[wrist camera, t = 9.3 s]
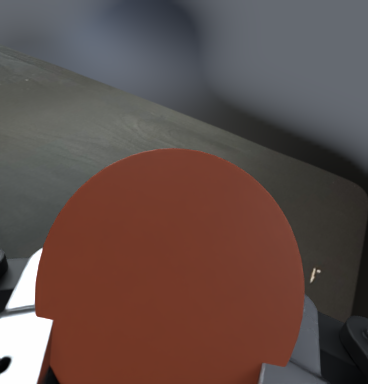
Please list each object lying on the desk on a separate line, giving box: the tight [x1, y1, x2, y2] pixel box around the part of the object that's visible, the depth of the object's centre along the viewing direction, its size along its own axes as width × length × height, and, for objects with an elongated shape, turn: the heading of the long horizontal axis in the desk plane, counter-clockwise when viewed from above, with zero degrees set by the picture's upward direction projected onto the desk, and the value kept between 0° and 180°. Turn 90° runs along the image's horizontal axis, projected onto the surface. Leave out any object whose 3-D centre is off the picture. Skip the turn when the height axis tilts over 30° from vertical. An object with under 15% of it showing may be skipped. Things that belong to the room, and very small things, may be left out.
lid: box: [34, 148, 305, 384], centre depth 5 cm, size 6×6×2 cm
